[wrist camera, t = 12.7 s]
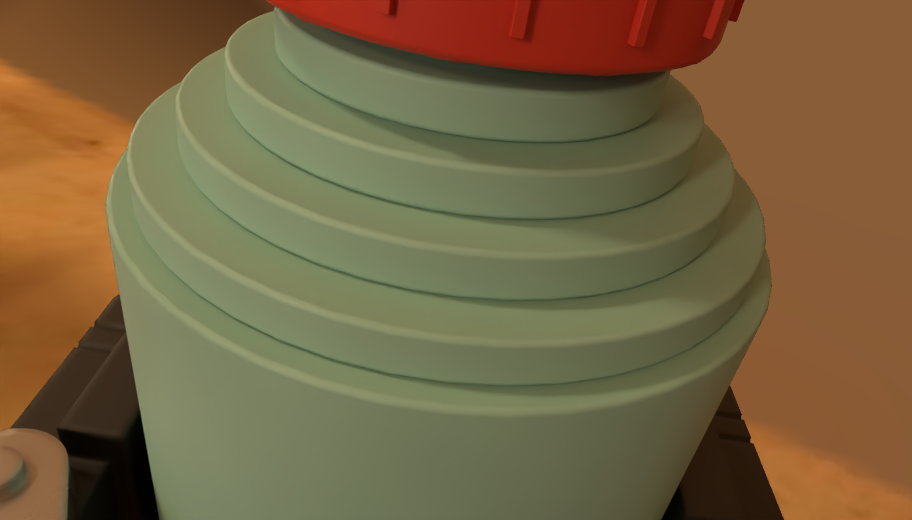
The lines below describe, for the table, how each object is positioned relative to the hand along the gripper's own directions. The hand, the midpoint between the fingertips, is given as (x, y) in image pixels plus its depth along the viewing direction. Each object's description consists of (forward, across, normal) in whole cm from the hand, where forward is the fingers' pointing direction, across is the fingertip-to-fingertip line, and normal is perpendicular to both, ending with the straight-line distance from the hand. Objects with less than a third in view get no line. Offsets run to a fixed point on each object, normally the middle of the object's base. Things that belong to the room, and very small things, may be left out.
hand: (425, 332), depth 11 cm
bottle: (-2, 0, +10) cm, 10 cm away
